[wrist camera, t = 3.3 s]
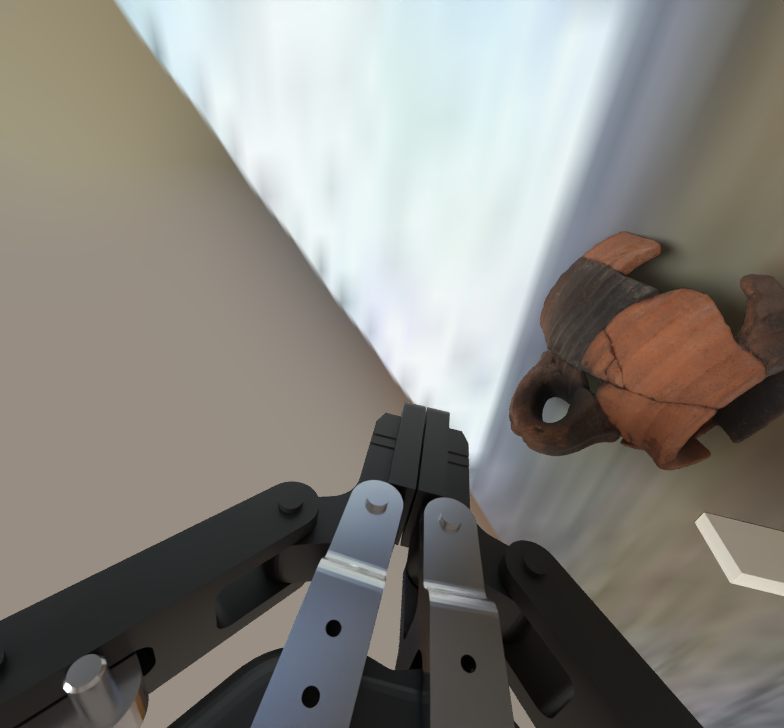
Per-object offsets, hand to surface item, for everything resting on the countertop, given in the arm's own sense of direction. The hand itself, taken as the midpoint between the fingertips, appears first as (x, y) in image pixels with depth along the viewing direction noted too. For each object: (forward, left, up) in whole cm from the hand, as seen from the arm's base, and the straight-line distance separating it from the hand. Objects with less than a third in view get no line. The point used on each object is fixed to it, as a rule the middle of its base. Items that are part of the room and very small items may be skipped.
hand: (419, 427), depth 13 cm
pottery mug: (+9, +1, -9) cm, 13 cm away
